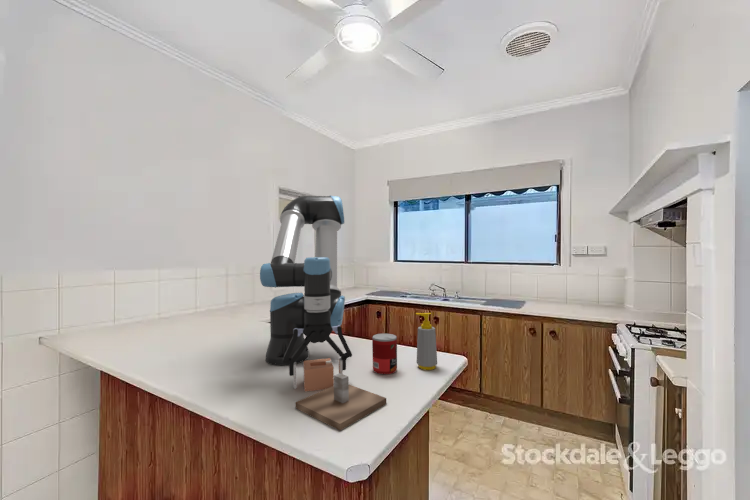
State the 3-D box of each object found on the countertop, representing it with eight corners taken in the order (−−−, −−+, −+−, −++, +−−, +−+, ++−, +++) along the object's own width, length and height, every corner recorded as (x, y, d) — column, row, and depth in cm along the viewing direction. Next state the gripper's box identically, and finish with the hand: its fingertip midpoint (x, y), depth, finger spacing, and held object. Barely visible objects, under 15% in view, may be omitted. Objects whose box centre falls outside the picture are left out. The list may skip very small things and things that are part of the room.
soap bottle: (415, 363, 112) (414, 311, 112) (435, 363, 112) (435, 311, 112) (417, 370, 105) (416, 315, 105) (439, 370, 105) (438, 314, 105)
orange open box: (304, 391, 90) (304, 368, 90) (303, 380, 98) (303, 359, 98) (333, 388, 92) (333, 365, 92) (330, 377, 100) (330, 356, 100)
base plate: (295, 408, 81) (295, 377, 81) (342, 387, 93) (342, 360, 93) (340, 430, 70) (339, 395, 70) (386, 403, 82) (386, 374, 82)
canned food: (395, 375, 101) (395, 340, 101) (370, 373, 103) (369, 338, 103) (398, 366, 109) (398, 333, 109) (375, 365, 110) (374, 332, 110)
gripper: (272, 314, 88) (273, 394, 88) (361, 309, 95) (362, 384, 94) (274, 310, 96) (274, 383, 96) (356, 305, 102) (357, 374, 102)
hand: (318, 383), depth 95 cm, fingers open, 12 cm apart
